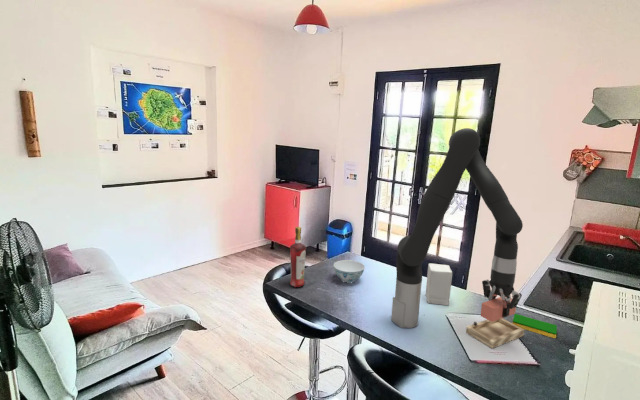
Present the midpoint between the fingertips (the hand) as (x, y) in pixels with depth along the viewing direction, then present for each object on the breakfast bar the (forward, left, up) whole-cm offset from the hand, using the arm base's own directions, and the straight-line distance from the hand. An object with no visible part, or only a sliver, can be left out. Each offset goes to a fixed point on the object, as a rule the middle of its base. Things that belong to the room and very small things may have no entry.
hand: (498, 313), depth 122 cm
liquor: (-49, +67, -9) cm, 83 cm away
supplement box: (+1, +29, -9) cm, 30 cm away
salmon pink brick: (0, 0, -1) cm, 1 cm away
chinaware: (-24, +62, -9) cm, 67 cm away
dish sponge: (+18, -3, -9) cm, 20 cm away
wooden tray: (0, 0, -8) cm, 8 cm away
